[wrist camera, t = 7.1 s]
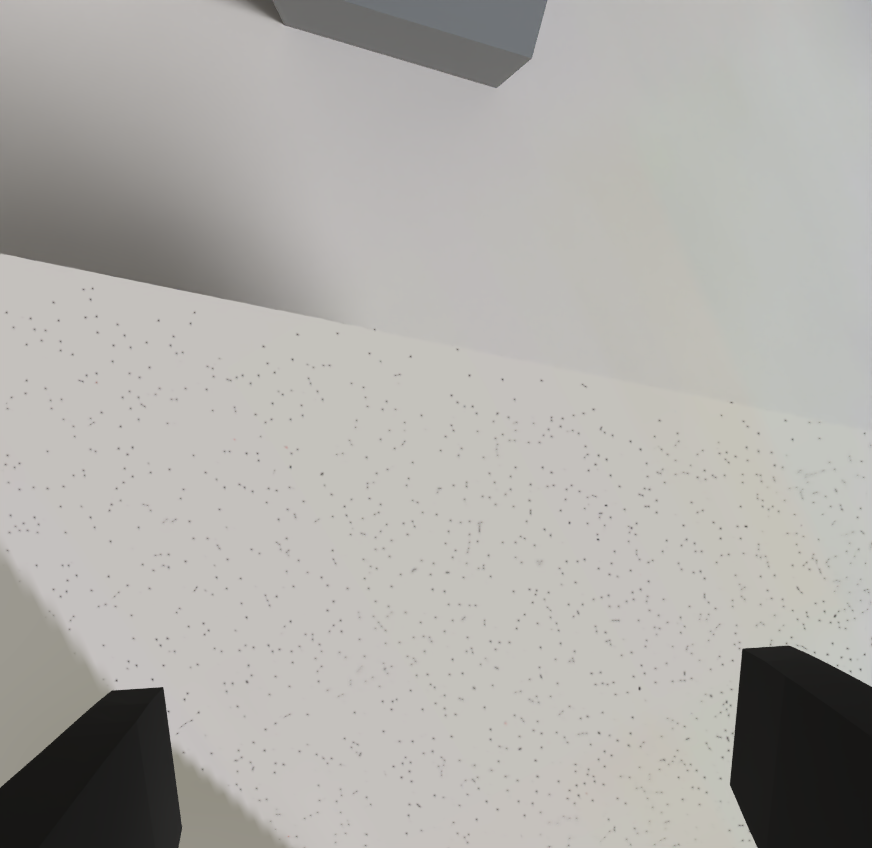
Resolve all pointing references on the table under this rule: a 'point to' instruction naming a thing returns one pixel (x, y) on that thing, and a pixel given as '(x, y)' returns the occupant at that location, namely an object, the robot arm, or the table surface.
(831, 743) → the robot arm
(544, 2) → the grey rectangular block
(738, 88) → the table surface
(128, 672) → the table surface
